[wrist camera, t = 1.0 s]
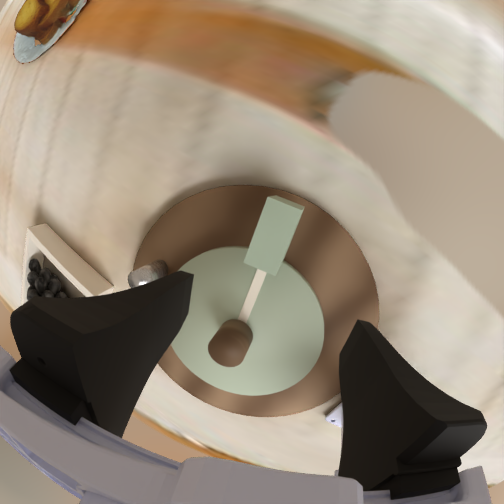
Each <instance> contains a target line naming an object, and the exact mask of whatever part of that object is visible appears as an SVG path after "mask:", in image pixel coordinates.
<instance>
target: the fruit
mask: <svg viewBox="0 0 504 504" xmlns="http://www.w3.org/2000/svg"><path fill="white" fill-rule="evenodd" d="M29 269H30V271H31V272H29V274H28V276H27V280H28V283H29V285H30V287H29V288H28V290H27V300H30V299H31V298H32V297H34V296H40V297H52V298H68V297H67V296H66V294H65V293H63V292H60V289H61V283H60V281H59V280H58V278H57V276H55V275H51V273H50V270H49V269H47V268H43V269H41V266H40V263H39V261H38V260H37V259H31V260H30V262H29Z"/></svg>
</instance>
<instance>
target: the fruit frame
mask: <svg viewBox="0 0 504 504" xmlns="http://www.w3.org/2000/svg"><path fill="white" fill-rule="evenodd" d="M44 255H45V256H46V257H47V258H48V259H49V260H50V261H51V262H52V263H53V264H54V265H55V266H56V268H57V269H58V270H59V271H60V272H61V273H62V274H63V275H64V276H65V277H66V278H67V279H68V280H69V281H70V282H71V283H72V284H73V285H74V286H75V287H76V288H77V289H78V290H79V291H80V292H82V293H83V294H84V295H85V296H86V297H91V296H99V295H106V294H111V293H112V292H113V288H114V286H113V285H112V284H110V283H109V282H108V281H107V280H106V279H105V278H103V277H102V276H101V275H100V274H99V273H98V272H97V271H95V270H94V269H93V268H92V267H91V266H90V265H89V264H88V263H86V262H85V261H84V260H83V259H82V258H81V257H80V256H79V255H78V254H77V253H76V252H75V251H74V250H72V249H71V248H70V247H69V246H68V245H67V244H66V243H65V242H64V241H63V240H62V239H61V238H60V237H59V236H58V235H57V234H56V233H55V232H54V231H53V230H52V229H51V228H50V227H49V226H48V225H47V224H46V223H45V224H40V225H36V226H31V227H27V233H26V241H25V249H24V258H23V271H22V290H21V305H23V304H24V303H25V302H27V301H28V300H27V290H28V288H29V287H30V285H29V283H28V280H27V276H28V274H29V272H31V271H30V269H29V262H30V260H31V259H37V260H38V261H39V263H40V266H41V269H42V268H43V261H44Z"/></svg>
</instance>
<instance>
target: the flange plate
mask: <svg viewBox="0 0 504 504" xmlns="http://www.w3.org/2000/svg"><path fill="white" fill-rule="evenodd" d="M304 208H305V207H304V206H302V205H299V204H297V203H294V202H292V201H289V200H287V199H284V198H282V197H279V196H277V195H275V196H269V197H267V200H266V202H265V205H264V208H263V211H262V213H261V216H260V219H259V221H258V224H257V227H256V229H255V232H254V235H253V238H252V240H251V243H250V246H249V247H244V246H226V247H220V248H215V249H212V250H209V251H206V252H204V253H202V254H200V255H198V256H196V257H195V258H193V259H191V260H190V261H188V262H187V263H186V264H184V265H183V266H182V267H181V268H180V269H179V270H178V271H180V270H181V271H185V272H188V273H191V274H194V278H193V285H192V291H191V298H190V305H189V313H188V315H187V317H186V319H185V321H184V323H183V325H182V327H181V329H180V331H179V333H178V334H177V336H176V337H175V339H174V340H173V341H172V343H171V346H172V348H173V350H174V351H175V353H176V354H177V356H178V357H179V359H180V360H181V361H182V362H183V364H184V365H185V366H186V367H187V368H188V369H189V370H190V371H191V372H193V373H194V374H195V375H196V376H198V377H199V378H200V379H202V380H203V381H205V382H207V383H208V384H210V385H212V386H214V387H216V388H219V389H221V390H224V391H227V392H231V393H235V394H240V395H249V396H258V395H268V394H273V393H277V392H280V391H283V390H285V389H287V388H289V387H291V386H293V385H295V384H296V383H298V382H299V381H300V380H302V379H303V378H304V377H305V376H306V375H307V374H308V373H309V372H310V371H311V369H312V368H313V367H314V365H315V364H316V362H317V360H318V358H319V356H320V353H321V350H322V347H323V341H324V318H323V312H322V308H321V305H320V302H319V300H318V298H317V296H316V294H315V291H314V290H313V288H312V287H311V285H310V284H309V282H308V281H307V280H306V279H305V278H304V277H303V276H302V274H301V273H300V272H299V271H297V270H296V269H295V268H294V267H293V266H292V265H290V264H289V263H287V262H286V261H284V258H285V255H286V253H287V250H288V248H289V245H290V243H291V240H292V238H293V235H294V233H295V230H296V228H297V225H298V223H299V220H300V218H301V215H302V213H303V210H304ZM230 319H237V320H241V321H243V322H245V323H246V324H247V325H248V326H249V327H250V328H251V330H252V332H253V340H252V343H251V345H250V347H249V349H248V351H247V353H246V356H245V358H244V360H243V361H242V363H241V364H240V365H238V366H235V367H225V366H222V365H219V364H218V363H216V362H215V361H214V360H213V359H212V358H211V356H210V354H209V352H208V344H209V342H210V340H211V339H212V338H213V336H214V335H215V334H216V332H217V331H218V329H219V328H220V327H221V325H222V324H223V323H224V322H225V321H227V320H230Z"/></svg>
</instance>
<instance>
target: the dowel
mask: <svg viewBox="0 0 504 504" xmlns="http://www.w3.org/2000/svg"><path fill="white" fill-rule="evenodd" d="M167 274H168V266H167V264H166V262H165V261H163V260H160V259H158V260H156V261H153V262H151V263H149V264H147V265H145V266H143V267H141V268H139V269H137V270H135V271H133V272H131V273H130V274H129V276H128V283H129V285H130V287H131V288H134V287H137V286H140V285H143V284H146V283H149V282H151V281H154V280H157V279H159V278H162V277H164V276H166V275H167Z"/></svg>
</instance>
